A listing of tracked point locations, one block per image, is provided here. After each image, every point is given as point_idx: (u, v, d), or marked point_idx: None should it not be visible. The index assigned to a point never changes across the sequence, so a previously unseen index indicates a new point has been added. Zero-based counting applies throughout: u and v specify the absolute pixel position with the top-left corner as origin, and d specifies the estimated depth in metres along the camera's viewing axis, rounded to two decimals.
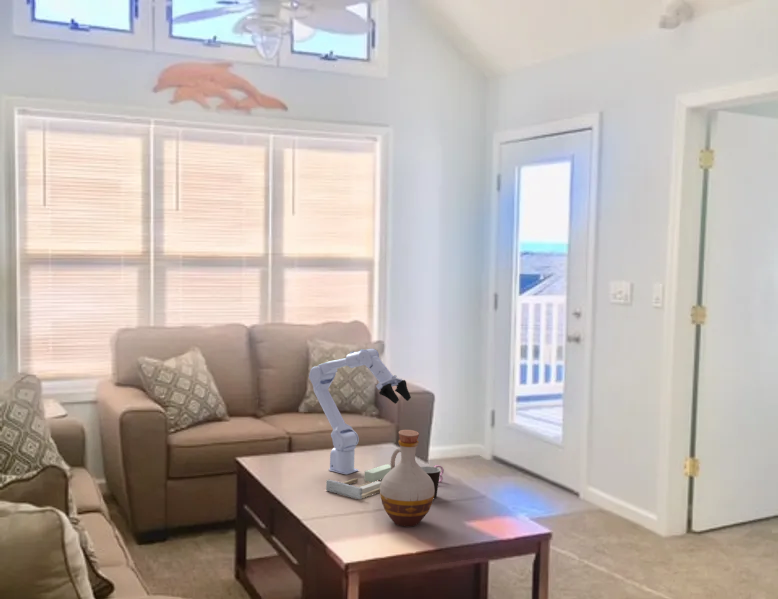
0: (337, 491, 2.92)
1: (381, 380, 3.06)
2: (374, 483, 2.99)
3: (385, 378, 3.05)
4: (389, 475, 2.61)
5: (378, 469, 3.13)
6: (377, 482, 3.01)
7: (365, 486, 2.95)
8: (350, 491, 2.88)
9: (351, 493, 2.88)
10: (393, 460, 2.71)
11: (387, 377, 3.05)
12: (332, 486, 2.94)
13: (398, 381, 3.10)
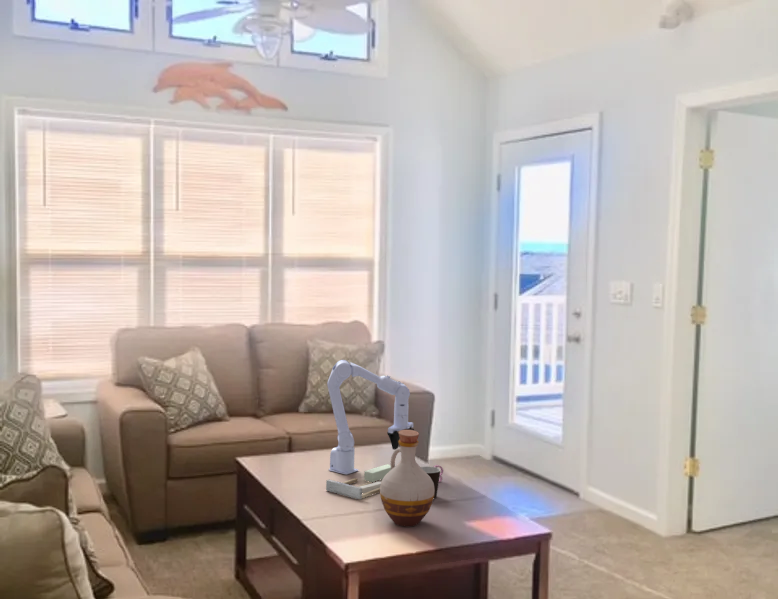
0: (337, 491, 2.92)
1: (396, 422, 3.21)
2: (375, 483, 2.99)
3: (400, 424, 3.20)
4: (389, 475, 2.61)
5: (378, 469, 3.13)
6: (378, 482, 3.00)
7: (365, 486, 2.96)
8: (350, 491, 2.88)
9: (351, 493, 2.88)
10: (393, 460, 2.71)
11: (402, 424, 3.20)
12: (332, 486, 2.94)
13: (409, 425, 3.27)
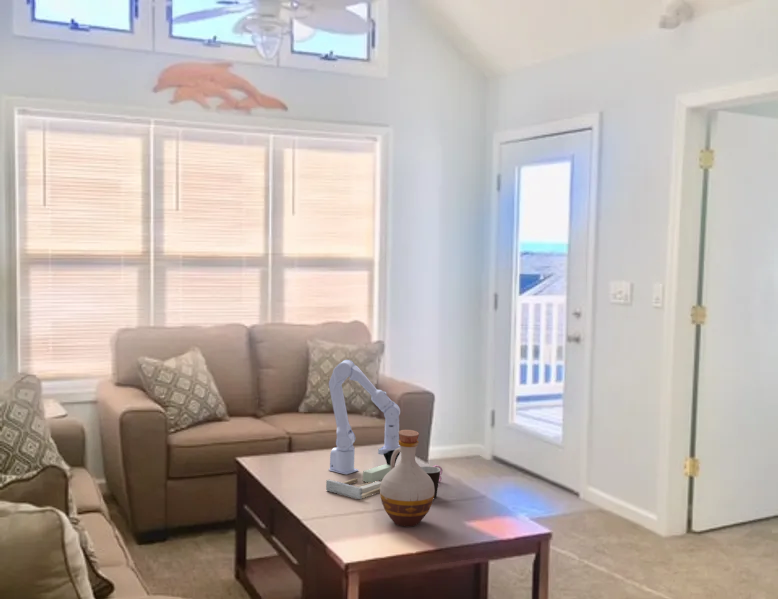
0: (337, 491, 2.92)
1: (386, 443, 3.17)
2: (374, 483, 2.99)
3: (390, 445, 3.16)
4: (389, 475, 2.61)
5: (377, 469, 3.12)
6: (378, 482, 3.01)
7: (365, 486, 2.95)
8: (350, 491, 2.88)
9: (351, 493, 2.88)
10: (393, 460, 2.71)
11: (392, 445, 3.16)
12: (332, 486, 2.94)
13: (399, 446, 3.22)
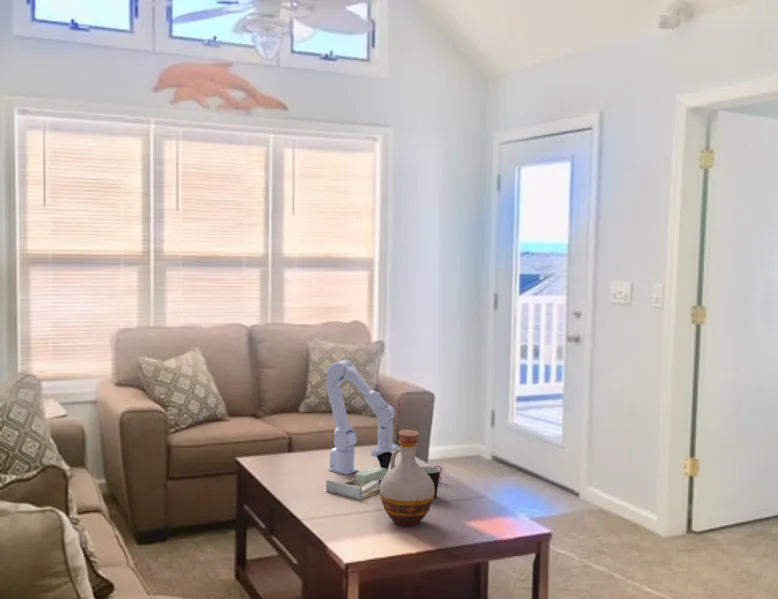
0: (337, 491, 2.92)
1: (380, 445, 3.13)
2: (372, 483, 3.00)
3: (384, 447, 3.13)
4: (389, 475, 2.61)
5: (369, 471, 3.08)
6: (374, 481, 3.02)
7: (366, 486, 2.95)
8: (350, 491, 2.88)
9: (351, 493, 2.88)
10: (393, 460, 2.71)
11: (386, 447, 3.13)
12: (332, 486, 2.94)
13: (393, 448, 3.19)
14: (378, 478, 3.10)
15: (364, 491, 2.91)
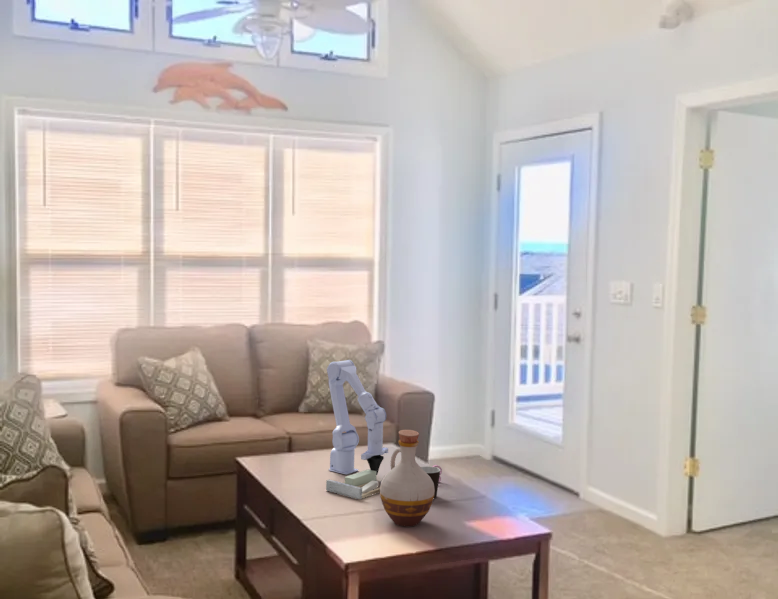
0: (337, 491, 2.92)
1: (369, 448, 3.08)
2: (371, 482, 3.00)
3: (374, 450, 3.08)
4: (389, 475, 2.61)
5: (359, 474, 3.03)
6: (373, 481, 3.02)
7: (366, 486, 2.95)
8: (350, 491, 2.88)
9: (351, 493, 2.88)
10: (393, 460, 2.71)
11: (376, 450, 3.08)
12: (332, 486, 2.94)
13: (383, 451, 3.14)
14: (368, 481, 3.05)
15: (364, 491, 2.91)
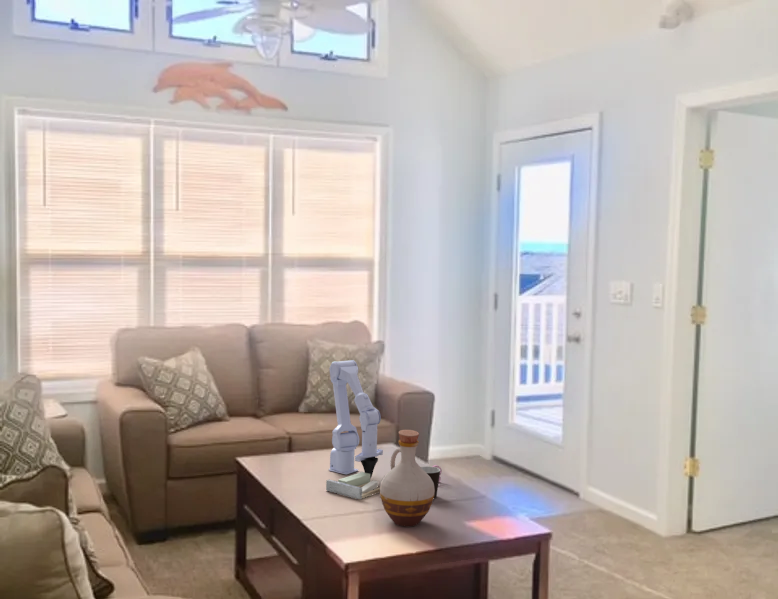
0: (337, 491, 2.92)
1: (364, 449, 3.06)
2: (371, 482, 3.00)
3: (368, 452, 3.05)
4: (389, 475, 2.61)
5: (352, 477, 3.01)
6: (373, 481, 3.02)
7: (366, 486, 2.95)
8: (350, 491, 2.88)
9: (351, 493, 2.88)
10: (393, 460, 2.71)
11: (370, 452, 3.05)
12: (332, 486, 2.94)
13: (378, 452, 3.11)
14: (361, 484, 3.02)
15: (364, 491, 2.91)
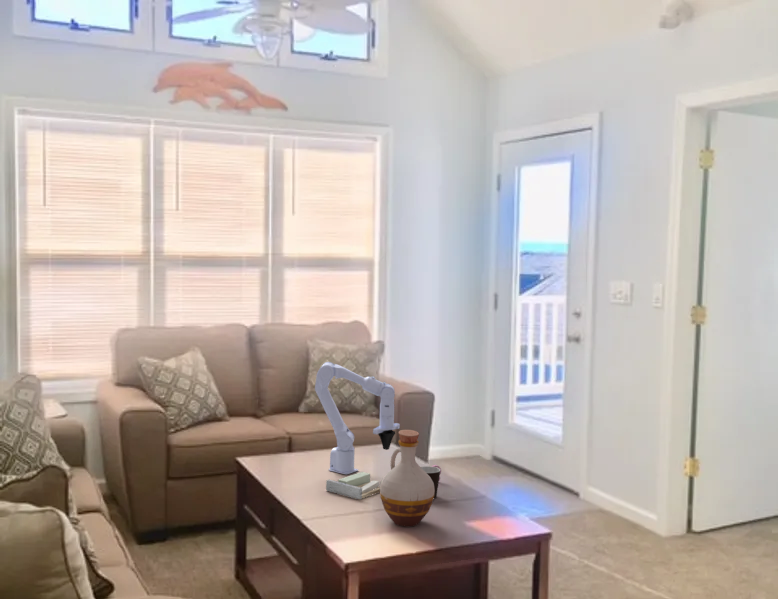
0: (337, 491, 2.92)
1: (381, 423, 3.18)
2: (372, 483, 3.00)
3: (385, 425, 3.17)
4: (389, 475, 2.61)
5: (352, 477, 3.01)
6: (374, 481, 3.02)
7: (366, 486, 2.95)
8: (350, 491, 2.88)
9: (351, 493, 2.88)
10: (393, 460, 2.71)
11: (387, 425, 3.18)
12: (332, 486, 2.94)
13: (395, 426, 3.24)
14: (361, 484, 3.02)
15: (364, 491, 2.91)
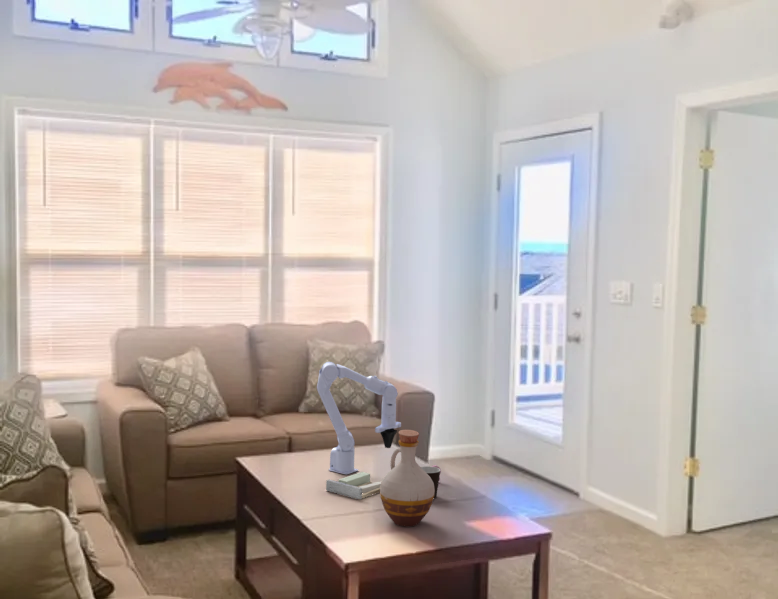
0: (337, 491, 2.92)
1: (383, 421, 3.21)
2: (375, 483, 2.99)
3: (387, 423, 3.20)
4: (389, 475, 2.61)
5: (352, 477, 3.01)
6: (378, 482, 3.00)
7: (365, 486, 2.95)
8: (350, 491, 2.88)
9: (351, 493, 2.88)
10: (393, 460, 2.71)
11: (389, 424, 3.20)
12: (332, 486, 2.94)
13: (396, 425, 3.27)
14: (361, 484, 3.02)
15: None
